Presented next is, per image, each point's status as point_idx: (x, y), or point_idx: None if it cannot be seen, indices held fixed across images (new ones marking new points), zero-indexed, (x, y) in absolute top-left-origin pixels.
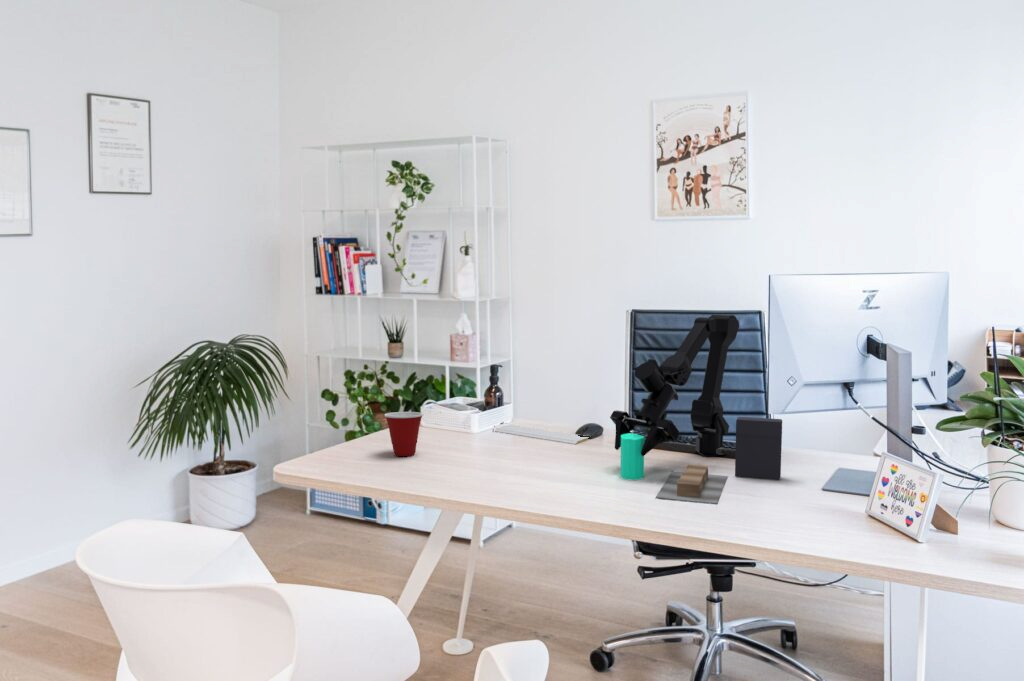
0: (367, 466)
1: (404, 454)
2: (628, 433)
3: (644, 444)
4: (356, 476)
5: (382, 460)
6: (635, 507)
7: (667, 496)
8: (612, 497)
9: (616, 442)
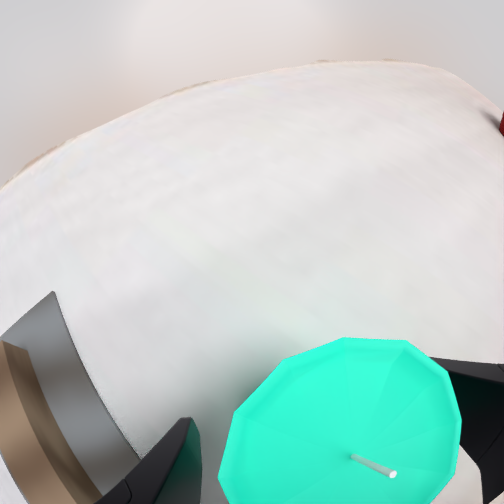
0: (461, 94)
1: (500, 127)
2: (452, 457)
3: (167, 458)
4: (425, 73)
5: (484, 113)
6: (62, 211)
7: (36, 322)
8: (139, 208)
9: (438, 363)
